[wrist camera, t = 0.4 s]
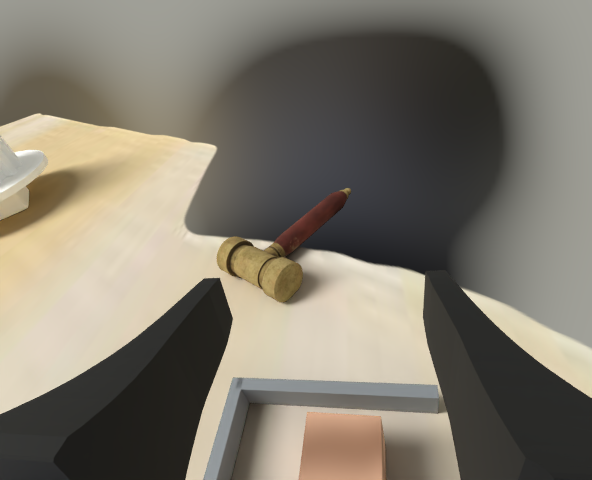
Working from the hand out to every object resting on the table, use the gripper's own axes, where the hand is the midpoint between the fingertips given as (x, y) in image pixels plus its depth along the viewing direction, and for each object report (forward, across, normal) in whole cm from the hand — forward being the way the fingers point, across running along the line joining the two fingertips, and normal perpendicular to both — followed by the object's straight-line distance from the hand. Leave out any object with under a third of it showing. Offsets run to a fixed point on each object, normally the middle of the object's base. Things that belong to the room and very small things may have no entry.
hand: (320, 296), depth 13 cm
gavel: (+30, +6, +17) cm, 35 cm away
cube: (+3, 0, +20) cm, 20 cm away
